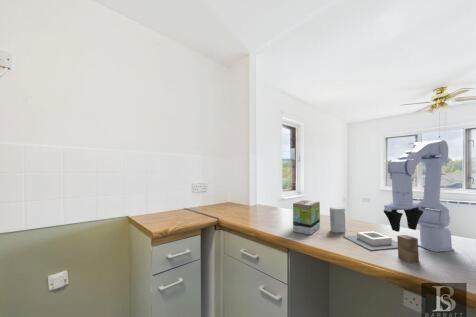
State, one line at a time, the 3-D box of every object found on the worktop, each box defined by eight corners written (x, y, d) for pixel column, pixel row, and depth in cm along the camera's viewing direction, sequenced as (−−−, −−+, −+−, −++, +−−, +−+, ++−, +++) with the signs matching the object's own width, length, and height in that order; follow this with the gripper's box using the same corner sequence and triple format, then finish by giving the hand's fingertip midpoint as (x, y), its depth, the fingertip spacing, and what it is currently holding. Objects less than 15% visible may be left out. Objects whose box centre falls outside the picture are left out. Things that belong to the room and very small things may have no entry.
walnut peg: (407, 256, 74) (406, 234, 75) (418, 261, 70) (417, 238, 71) (398, 257, 73) (397, 235, 74) (409, 262, 70) (408, 239, 70)
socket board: (376, 234, 98) (375, 228, 98) (409, 247, 83) (408, 240, 83) (343, 237, 95) (343, 230, 95) (370, 250, 80) (370, 243, 80)
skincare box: (340, 229, 106) (340, 206, 107) (346, 232, 102) (345, 208, 102) (329, 230, 106) (329, 207, 106) (334, 233, 101) (334, 208, 102)
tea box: (312, 235, 98) (311, 205, 99) (292, 231, 104) (291, 203, 105) (320, 227, 110) (319, 200, 111) (302, 224, 116) (301, 199, 117)
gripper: (406, 190, 79) (407, 225, 78) (376, 191, 76) (377, 228, 75) (426, 192, 72) (428, 230, 71) (394, 194, 69) (396, 234, 68)
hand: (404, 230), depth 73 cm, fingers open, 7 cm apart
